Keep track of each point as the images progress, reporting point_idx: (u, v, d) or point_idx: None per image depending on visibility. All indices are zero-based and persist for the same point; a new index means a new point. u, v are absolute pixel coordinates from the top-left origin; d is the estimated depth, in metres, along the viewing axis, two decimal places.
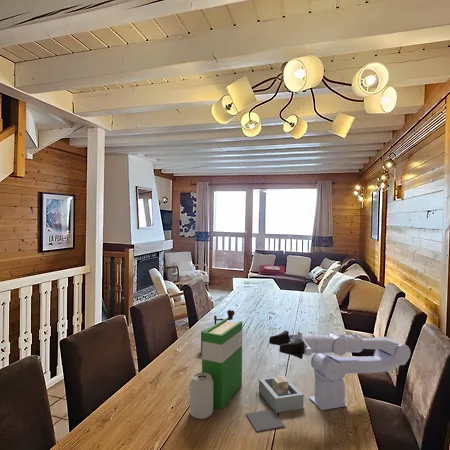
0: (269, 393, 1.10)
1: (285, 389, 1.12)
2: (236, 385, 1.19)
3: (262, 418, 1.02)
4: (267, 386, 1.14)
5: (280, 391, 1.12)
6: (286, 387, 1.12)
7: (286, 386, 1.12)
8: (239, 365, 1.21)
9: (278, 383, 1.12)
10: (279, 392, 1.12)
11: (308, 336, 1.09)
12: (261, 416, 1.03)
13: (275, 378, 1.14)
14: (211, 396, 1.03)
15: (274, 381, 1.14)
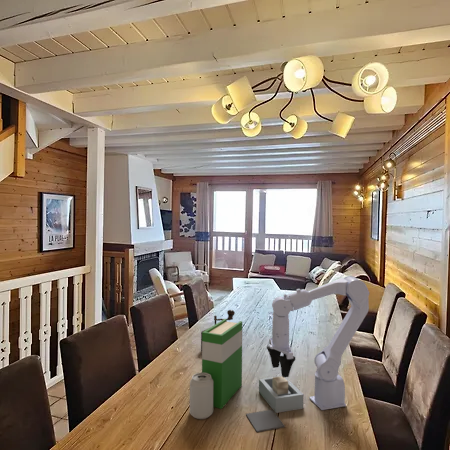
0: (269, 393, 1.10)
1: (285, 389, 1.12)
2: (236, 385, 1.19)
3: (262, 418, 1.02)
4: (267, 386, 1.14)
5: (280, 391, 1.12)
6: (286, 387, 1.12)
7: (286, 386, 1.12)
8: (239, 365, 1.21)
9: (278, 383, 1.12)
10: (279, 392, 1.12)
11: (274, 339, 1.12)
12: (261, 416, 1.03)
13: (275, 378, 1.14)
14: (211, 396, 1.03)
15: (274, 381, 1.14)
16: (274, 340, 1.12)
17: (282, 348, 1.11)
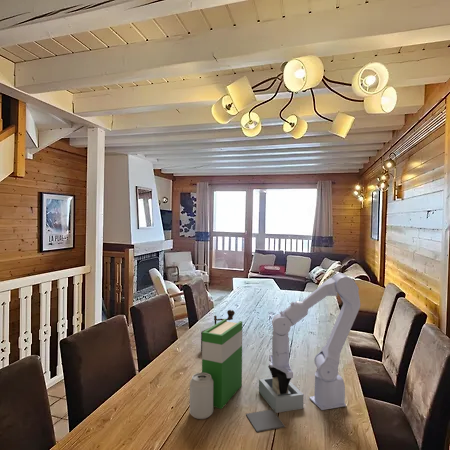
0: (269, 393, 1.10)
1: None
2: (236, 385, 1.19)
3: (262, 418, 1.02)
4: (267, 386, 1.14)
5: None
6: None
7: None
8: (239, 365, 1.21)
9: (278, 383, 1.12)
10: (279, 392, 1.12)
11: (274, 357, 1.12)
12: (261, 416, 1.03)
13: (275, 378, 1.14)
14: (211, 396, 1.03)
15: (274, 381, 1.14)
16: (274, 358, 1.12)
17: (282, 366, 1.11)
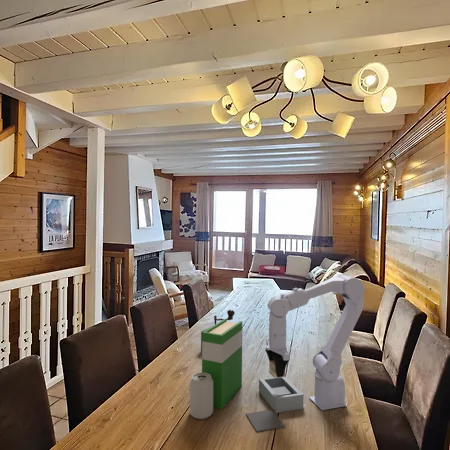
0: (269, 393, 1.10)
1: None
2: (236, 385, 1.19)
3: (262, 418, 1.02)
4: (267, 386, 1.14)
5: None
6: None
7: None
8: (239, 365, 1.21)
9: None
10: (276, 375, 1.09)
11: (270, 340, 1.10)
12: (261, 416, 1.03)
13: (272, 361, 1.12)
14: (211, 396, 1.03)
15: (271, 364, 1.11)
16: (271, 341, 1.10)
17: (279, 349, 1.08)
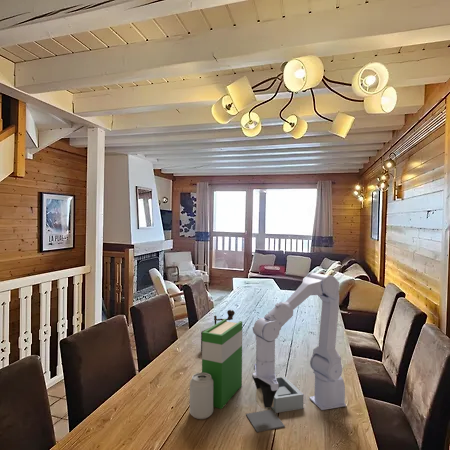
0: None
1: None
2: (236, 385, 1.19)
3: (262, 418, 1.02)
4: None
5: None
6: None
7: None
8: (239, 365, 1.21)
9: (262, 396, 0.99)
10: (264, 406, 0.99)
11: (258, 366, 1.00)
12: (261, 416, 1.03)
13: (259, 390, 1.02)
14: (211, 396, 1.03)
15: (258, 393, 1.01)
16: (258, 368, 1.00)
17: (266, 377, 0.98)
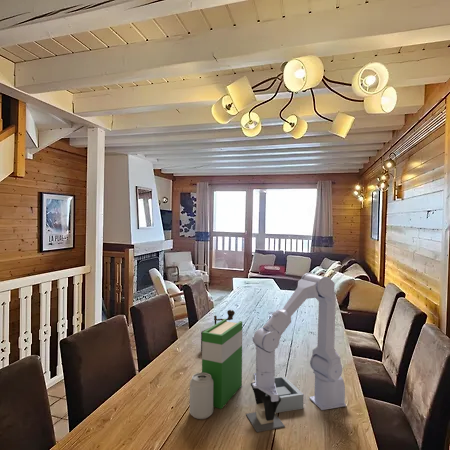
0: None
1: None
2: (236, 385, 1.19)
3: None
4: None
5: (264, 420, 0.99)
6: None
7: None
8: (239, 365, 1.21)
9: (262, 411, 0.99)
10: (264, 421, 0.99)
11: (257, 377, 1.00)
12: None
13: (259, 405, 1.02)
14: (211, 396, 1.03)
15: (258, 409, 1.01)
16: (258, 378, 1.00)
17: (266, 388, 0.98)
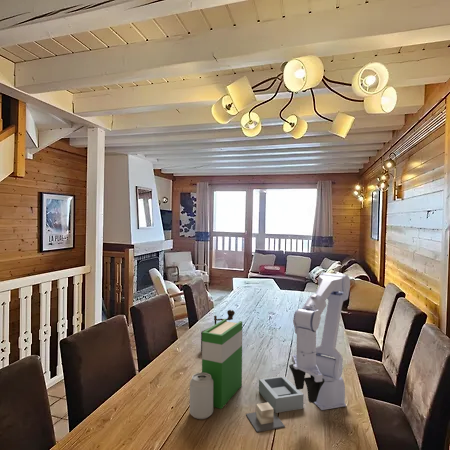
0: (269, 393, 1.10)
1: (270, 418, 1.00)
2: (236, 385, 1.19)
3: None
4: (267, 386, 1.14)
5: (264, 420, 0.99)
6: (271, 416, 1.00)
7: (271, 415, 1.00)
8: (239, 365, 1.21)
9: (262, 411, 0.99)
10: (264, 421, 0.99)
11: (299, 357, 0.97)
12: None
13: (259, 405, 1.02)
14: (211, 396, 1.03)
15: (258, 409, 1.01)
16: (299, 359, 0.97)
17: (309, 368, 0.96)
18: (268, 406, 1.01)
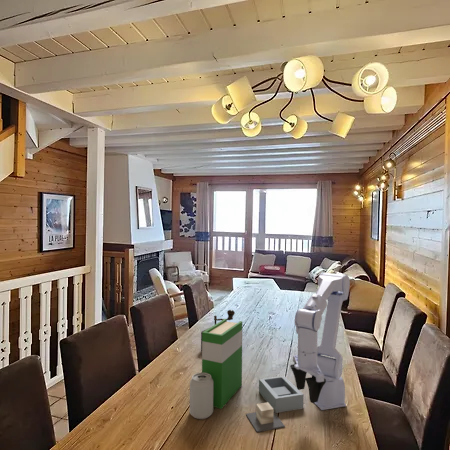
0: (269, 393, 1.10)
1: (270, 418, 1.00)
2: (236, 385, 1.19)
3: None
4: (267, 386, 1.14)
5: (264, 420, 0.99)
6: (271, 416, 1.00)
7: (271, 415, 1.00)
8: (239, 365, 1.21)
9: (262, 411, 0.99)
10: (264, 421, 0.99)
11: (300, 357, 0.97)
12: None
13: (259, 405, 1.02)
14: (211, 396, 1.03)
15: (258, 409, 1.01)
16: (300, 359, 0.97)
17: (310, 368, 0.96)
18: (268, 406, 1.01)
